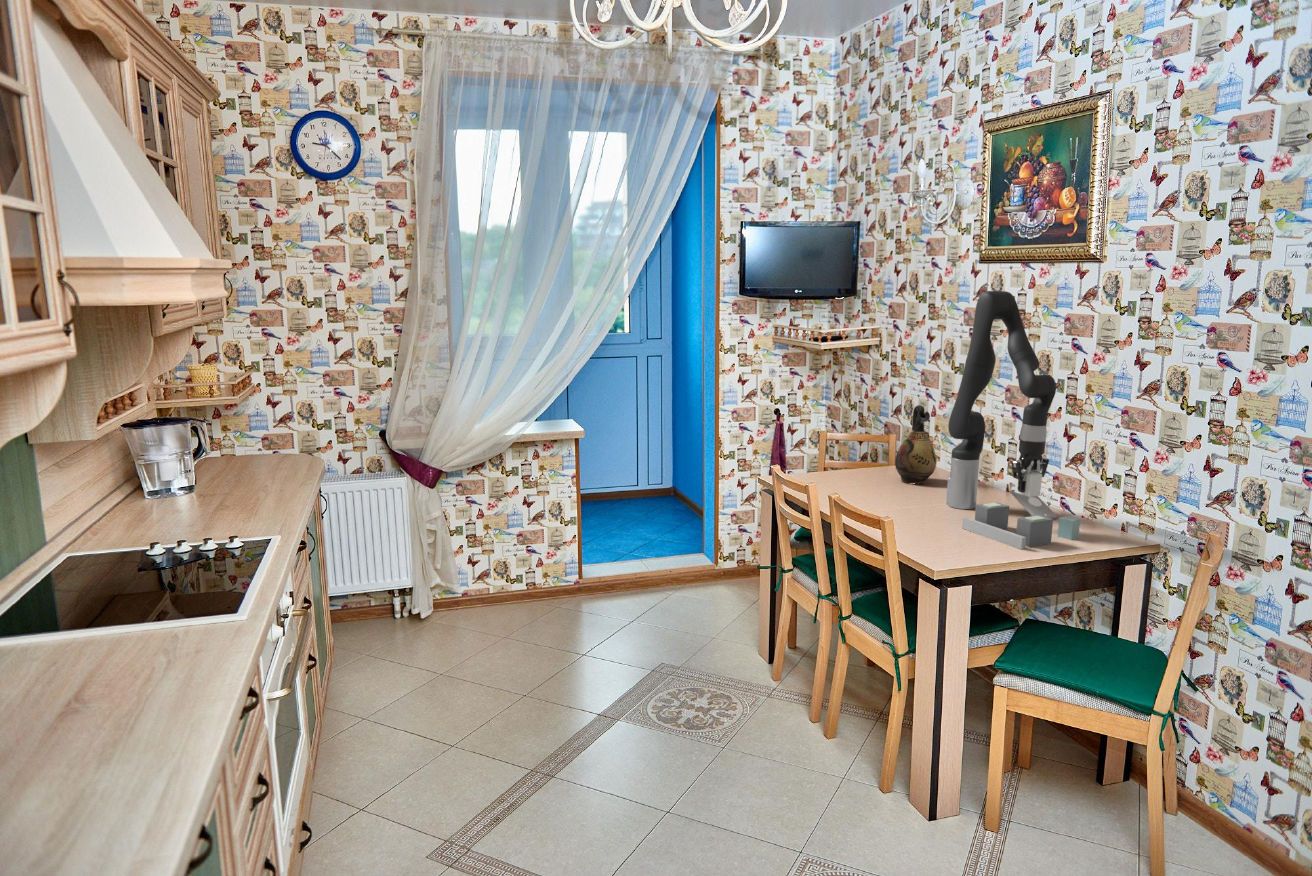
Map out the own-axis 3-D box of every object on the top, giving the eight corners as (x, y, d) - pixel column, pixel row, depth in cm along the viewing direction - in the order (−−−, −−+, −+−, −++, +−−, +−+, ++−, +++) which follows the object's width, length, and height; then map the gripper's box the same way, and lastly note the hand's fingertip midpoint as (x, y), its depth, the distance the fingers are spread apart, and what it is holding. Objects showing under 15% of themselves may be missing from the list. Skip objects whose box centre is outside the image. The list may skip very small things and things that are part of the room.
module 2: (1057, 536, 272) (1059, 517, 271) (1064, 534, 274) (1066, 515, 273) (1071, 540, 268) (1072, 520, 267) (1078, 537, 270) (1080, 519, 269)
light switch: (1039, 516, 288) (1012, 487, 298) (1031, 530, 291) (1004, 500, 302) (1059, 514, 291) (1031, 485, 301) (1051, 527, 294) (1023, 498, 305)
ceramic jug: (940, 486, 338) (945, 409, 332) (899, 486, 338) (904, 408, 333) (927, 476, 354) (931, 402, 349) (888, 476, 354) (892, 402, 349)
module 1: (1014, 492, 281) (1016, 469, 280) (1025, 490, 283) (1027, 468, 282) (1029, 496, 276) (1031, 474, 274) (1039, 495, 278) (1042, 473, 276)
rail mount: (962, 528, 279) (963, 504, 278) (993, 524, 285) (995, 500, 283) (1021, 549, 258) (1023, 523, 257) (1053, 544, 263) (1055, 519, 262)
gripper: (1040, 434, 282) (1034, 486, 285) (1006, 437, 276) (1001, 490, 280) (1059, 439, 275) (1053, 492, 279) (1025, 442, 270) (1019, 496, 273)
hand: (1027, 490), depth 279 cm, fingers closed on module 1, 4 cm apart
